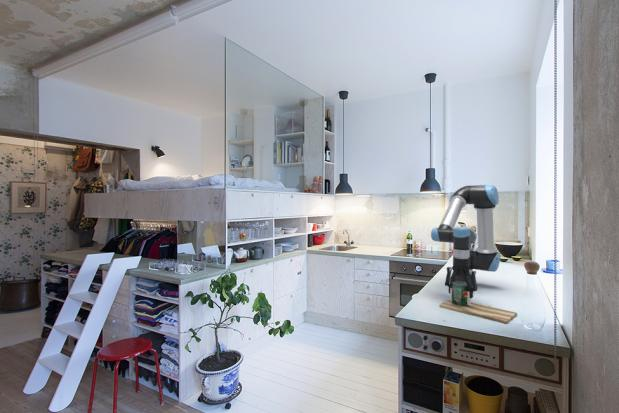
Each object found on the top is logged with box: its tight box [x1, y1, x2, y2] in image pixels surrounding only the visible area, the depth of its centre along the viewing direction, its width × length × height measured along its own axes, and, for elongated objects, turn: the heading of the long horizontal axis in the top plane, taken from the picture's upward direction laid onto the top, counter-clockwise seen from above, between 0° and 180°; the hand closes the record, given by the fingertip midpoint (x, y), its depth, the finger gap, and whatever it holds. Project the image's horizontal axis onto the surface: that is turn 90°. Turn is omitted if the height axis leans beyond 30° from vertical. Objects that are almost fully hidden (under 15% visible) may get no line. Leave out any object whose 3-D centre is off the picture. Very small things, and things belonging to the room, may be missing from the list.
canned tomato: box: [452, 281, 469, 307], centre depth 161 cm, size 8×8×11 cm
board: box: [439, 299, 518, 325], centre depth 156 cm, size 16×30×1 cm, turn 43°
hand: (460, 302), depth 161 cm, fingers closed on canned tomato, 8 cm apart
